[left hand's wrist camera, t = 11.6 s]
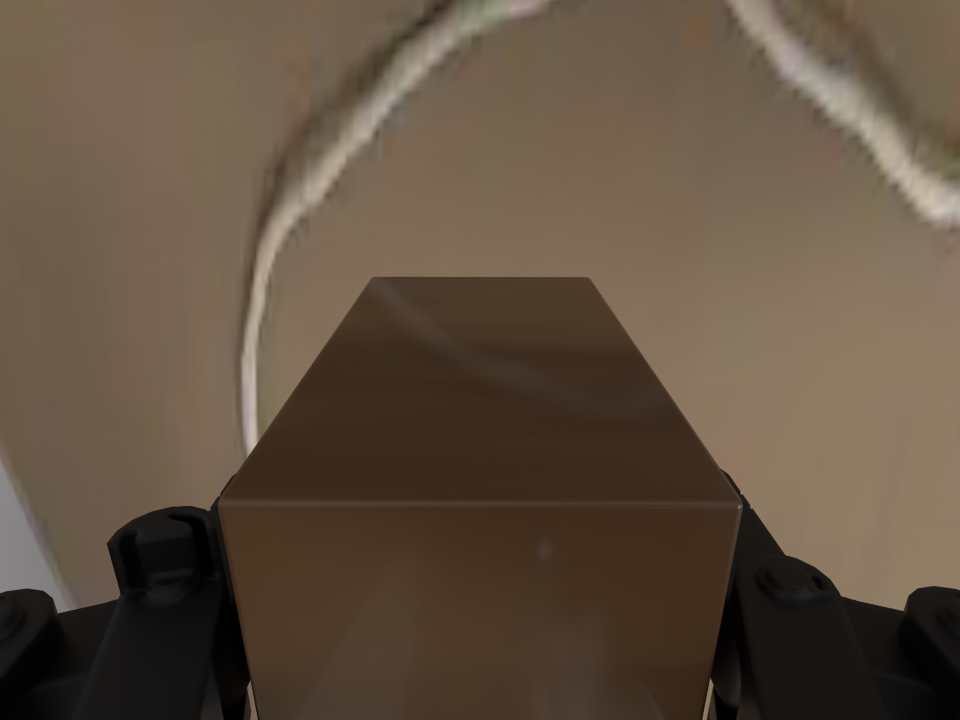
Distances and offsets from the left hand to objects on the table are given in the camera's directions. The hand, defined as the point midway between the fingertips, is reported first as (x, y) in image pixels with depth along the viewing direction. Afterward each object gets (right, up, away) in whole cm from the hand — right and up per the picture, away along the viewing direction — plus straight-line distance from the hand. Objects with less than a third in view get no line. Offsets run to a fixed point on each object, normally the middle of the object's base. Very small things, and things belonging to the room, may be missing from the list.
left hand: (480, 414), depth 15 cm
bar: (0, -9, +4) cm, 9 cm away
